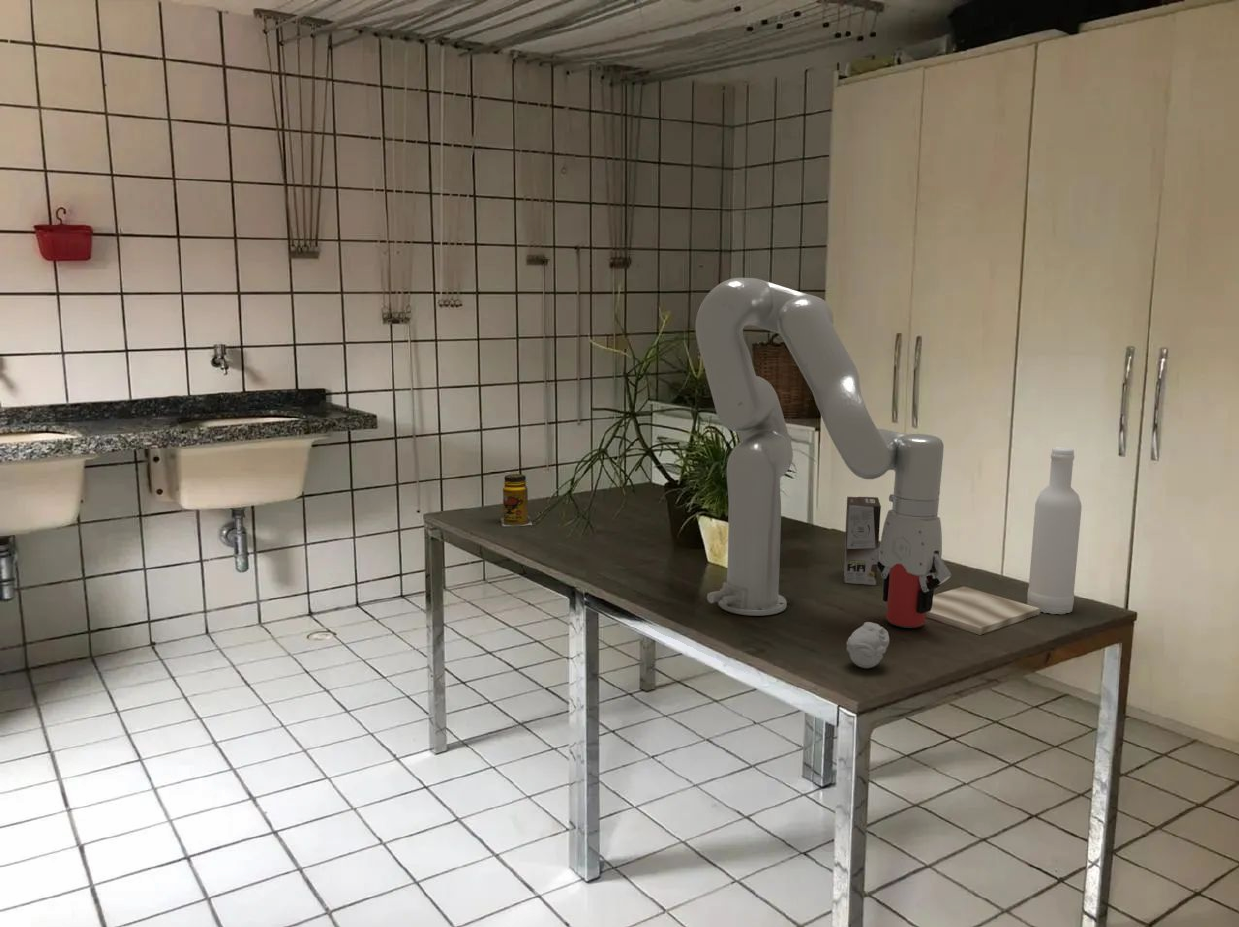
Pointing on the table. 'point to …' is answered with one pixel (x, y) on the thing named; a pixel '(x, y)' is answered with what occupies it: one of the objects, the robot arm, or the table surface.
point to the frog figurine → (868, 645)
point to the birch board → (977, 610)
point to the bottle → (1055, 539)
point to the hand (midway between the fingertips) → (906, 605)
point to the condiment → (515, 501)
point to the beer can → (903, 598)
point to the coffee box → (861, 539)
